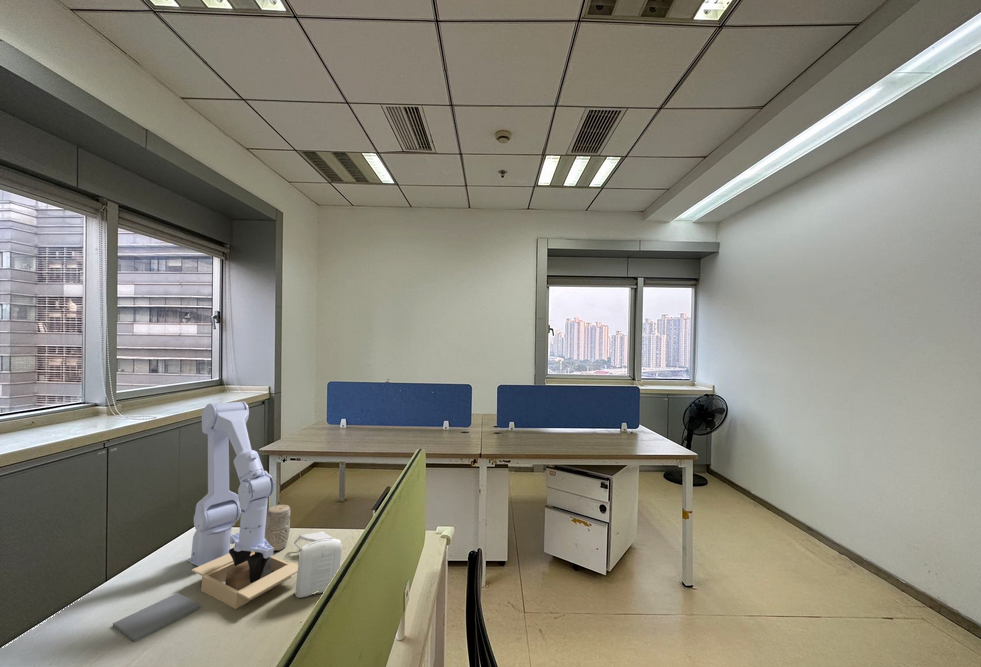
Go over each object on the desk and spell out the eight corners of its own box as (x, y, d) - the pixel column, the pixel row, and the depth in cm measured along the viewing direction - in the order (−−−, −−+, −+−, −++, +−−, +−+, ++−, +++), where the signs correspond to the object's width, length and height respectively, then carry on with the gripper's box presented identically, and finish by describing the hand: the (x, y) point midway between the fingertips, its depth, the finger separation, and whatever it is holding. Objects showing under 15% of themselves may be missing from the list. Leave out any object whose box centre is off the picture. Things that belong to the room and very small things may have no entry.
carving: (293, 544, 120) (296, 504, 120) (274, 556, 112) (277, 514, 113) (276, 540, 121) (280, 501, 122) (256, 552, 114) (260, 510, 115)
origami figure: (337, 543, 122) (338, 527, 122) (332, 557, 114) (334, 540, 114) (295, 546, 119) (296, 529, 119) (288, 560, 111) (289, 543, 111)
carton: (190, 585, 97) (192, 569, 97) (247, 558, 110) (249, 544, 111) (247, 615, 88) (249, 597, 88) (302, 582, 101) (304, 567, 101)
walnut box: (224, 590, 96) (226, 569, 96) (259, 572, 104) (260, 553, 104) (235, 596, 94) (237, 574, 94) (269, 577, 102) (271, 557, 103)
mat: (112, 626, 82) (112, 623, 82) (177, 595, 93) (177, 592, 93) (134, 641, 78) (134, 638, 78) (199, 607, 89) (199, 605, 89)
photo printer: (337, 580, 103) (340, 532, 103) (340, 588, 99) (344, 539, 100) (294, 591, 97) (298, 541, 98) (296, 601, 94) (300, 549, 94)
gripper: (219, 523, 99) (214, 577, 99) (256, 537, 93) (251, 595, 92) (246, 513, 106) (242, 564, 105) (282, 526, 100) (278, 580, 99)
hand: (248, 578), depth 99 cm, fingers open, 5 cm apart
